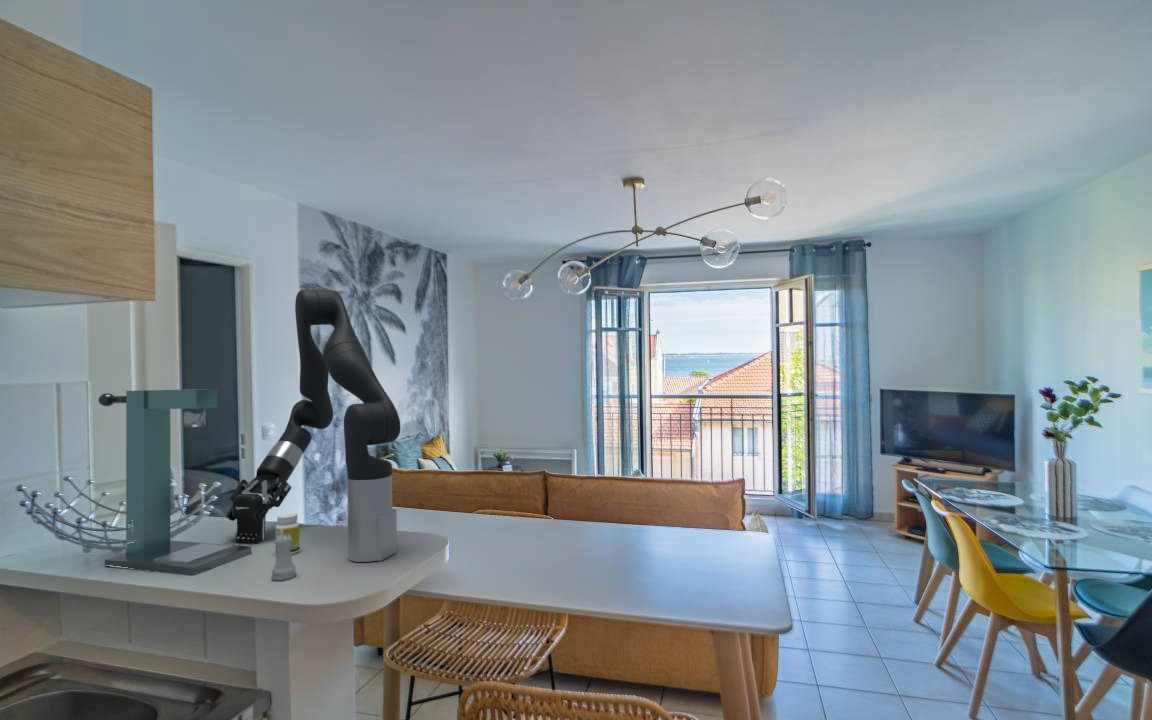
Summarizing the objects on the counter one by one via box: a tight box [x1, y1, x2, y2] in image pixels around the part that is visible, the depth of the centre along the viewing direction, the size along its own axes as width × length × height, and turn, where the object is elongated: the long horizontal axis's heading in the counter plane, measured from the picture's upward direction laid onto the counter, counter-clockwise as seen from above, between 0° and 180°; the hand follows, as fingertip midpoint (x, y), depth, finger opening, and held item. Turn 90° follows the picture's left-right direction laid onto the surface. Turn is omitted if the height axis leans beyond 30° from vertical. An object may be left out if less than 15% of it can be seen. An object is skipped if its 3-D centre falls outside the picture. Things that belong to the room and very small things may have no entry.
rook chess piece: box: [270, 535, 297, 582], centre depth 110 cm, size 4×4×8 cm
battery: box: [231, 492, 267, 544], centre depth 134 cm, size 7×4×11 cm, turn 79°
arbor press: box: [98, 388, 252, 576], centre depth 124 cm, size 35×14×37 cm, turn 75°
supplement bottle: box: [275, 512, 301, 556], centre depth 125 cm, size 5×5×8 cm
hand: (242, 519), depth 133 cm, fingers closed on battery, 7 cm apart
